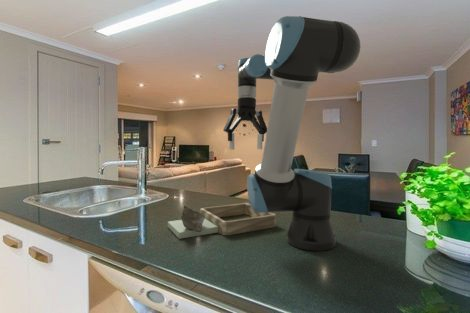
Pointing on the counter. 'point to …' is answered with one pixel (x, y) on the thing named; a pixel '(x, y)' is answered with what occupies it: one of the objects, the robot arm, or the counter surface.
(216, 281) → the counter surface
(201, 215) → the rock
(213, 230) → the ledge
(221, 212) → the wooden tray
